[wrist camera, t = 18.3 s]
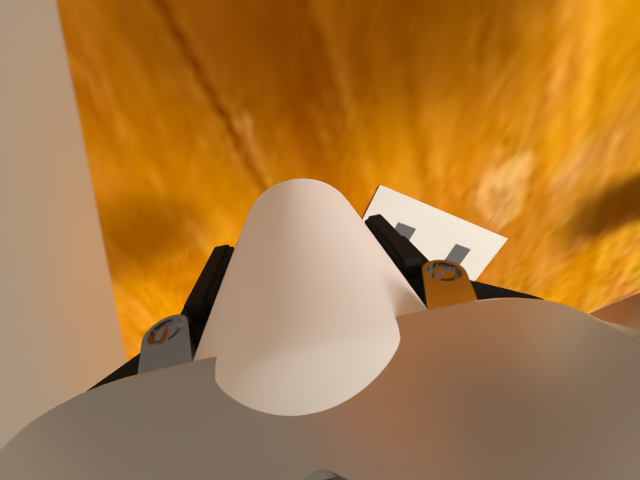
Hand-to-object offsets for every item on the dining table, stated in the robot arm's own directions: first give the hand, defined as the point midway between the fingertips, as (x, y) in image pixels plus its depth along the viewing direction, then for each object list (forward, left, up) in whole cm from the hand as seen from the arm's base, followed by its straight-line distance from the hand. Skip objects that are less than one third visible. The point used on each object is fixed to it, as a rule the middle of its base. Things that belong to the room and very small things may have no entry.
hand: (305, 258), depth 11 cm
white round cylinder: (0, 0, -3) cm, 3 cm away
